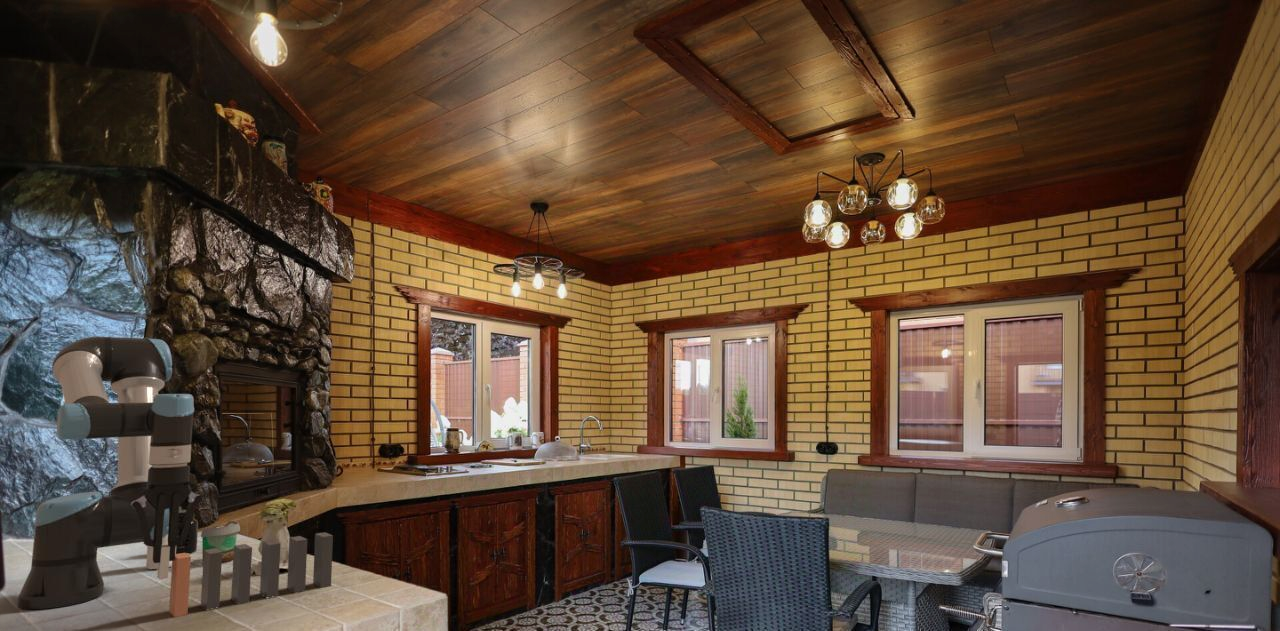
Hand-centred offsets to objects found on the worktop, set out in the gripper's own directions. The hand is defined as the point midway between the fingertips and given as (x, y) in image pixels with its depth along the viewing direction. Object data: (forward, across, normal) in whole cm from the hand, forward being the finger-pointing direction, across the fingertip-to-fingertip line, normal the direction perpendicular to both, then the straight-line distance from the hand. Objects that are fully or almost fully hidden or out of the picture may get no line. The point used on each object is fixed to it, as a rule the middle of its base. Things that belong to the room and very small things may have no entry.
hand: (162, 577), depth 148 cm
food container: (+8, +22, +44) cm, 49 cm away
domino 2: (+8, +9, 0) cm, 12 cm away
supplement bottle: (+8, +15, +63) cm, 66 cm away
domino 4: (+8, +21, 0) cm, 23 cm away
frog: (+8, +30, +25) cm, 40 cm away
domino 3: (+8, +15, 0) cm, 17 cm away
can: (+8, +8, +48) cm, 50 cm away
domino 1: (+8, +3, 0) cm, 9 cm away
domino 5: (+8, +27, +1) cm, 28 cm away
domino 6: (+8, +33, +1) cm, 34 cm away
